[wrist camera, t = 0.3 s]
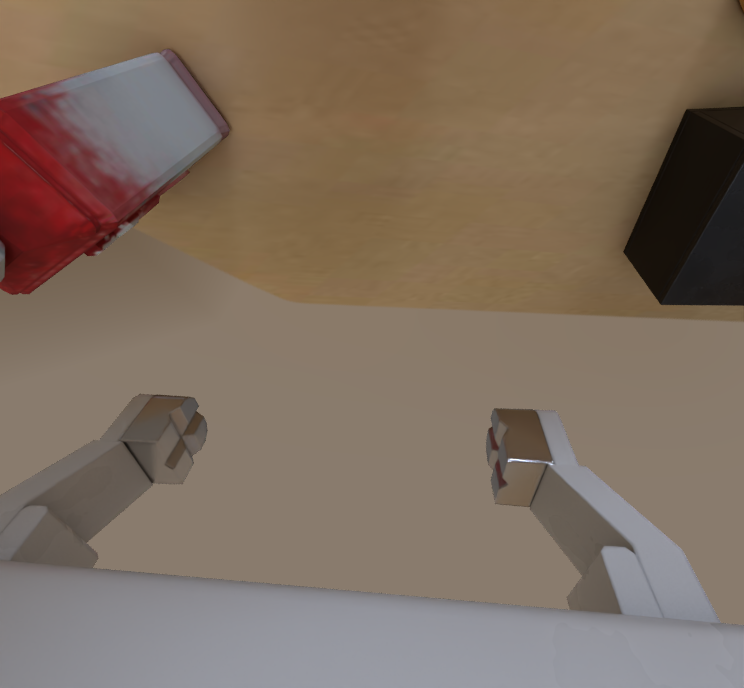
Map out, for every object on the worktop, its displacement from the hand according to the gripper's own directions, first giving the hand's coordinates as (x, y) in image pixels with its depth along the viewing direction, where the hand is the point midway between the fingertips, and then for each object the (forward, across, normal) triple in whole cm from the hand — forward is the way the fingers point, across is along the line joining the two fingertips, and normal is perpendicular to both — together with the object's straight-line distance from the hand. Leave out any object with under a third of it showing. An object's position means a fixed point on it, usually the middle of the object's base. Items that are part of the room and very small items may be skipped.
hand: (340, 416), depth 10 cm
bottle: (+40, +26, -2) cm, 48 cm away
